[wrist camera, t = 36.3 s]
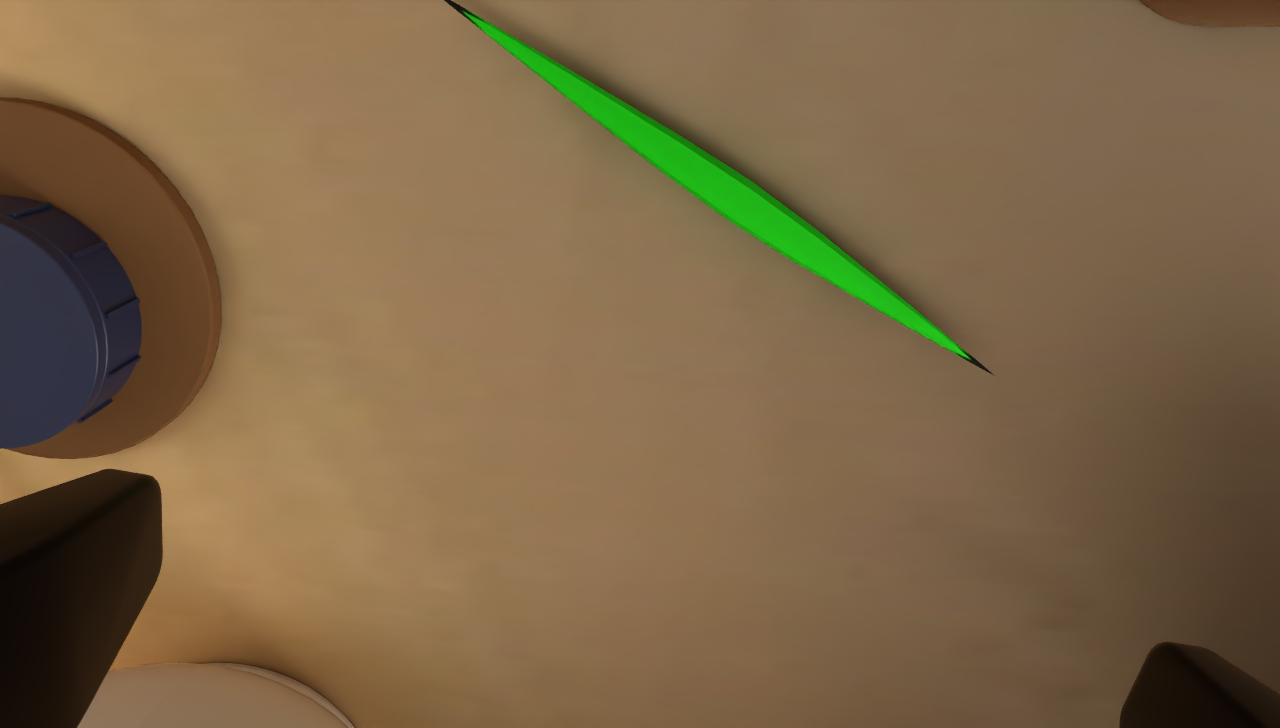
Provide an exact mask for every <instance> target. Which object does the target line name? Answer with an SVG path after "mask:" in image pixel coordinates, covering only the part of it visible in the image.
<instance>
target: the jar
mask: <svg viewBox="0 0 1280 728" xmlns="http://www.w3.org/2000/svg"><path fill="white" fill-rule="evenodd" d="M1140 1H1141V2H1142V3H1143V4H1144V5H1146V6H1147V7H1148V8H1150V9H1151V10H1152V11H1154V12H1156V13H1158V14H1160V15H1161V16H1163V17H1165V18H1167V19H1170V20H1173V21H1176V22H1179V23H1183V24H1188V25H1194V26H1211V27H1280V0H1140Z"/></svg>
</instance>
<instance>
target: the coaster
mask: <svg viewBox="0 0 1280 728" xmlns="http://www.w3.org/2000/svg"><path fill="white" fill-rule="evenodd" d="M0 195H9V196H19V197H23V198H28V199H32V200H36V201H39V202H42V203H43V202H47V201H48V202H50V203H52V206H53V207H55V208H57V209H59V210H61V211H63V212H65V213H67V214H68V215H70V216H72V217H73V218H75V219H76V220H78V221H80V222H81V223H82V224H84V225H85V226H86V227H87V228H89V229H90V230H91V231H92V232H94V233H95V234H96V235H97V236H98V237H99V238H100V239H101V240H102V241H106V242H107V244H108V245H107V246H108V248H109V249H110V250H111V251H112V252H113V254H114V255H115V256H116V257H117V259H118V261H119V262H120V264H121V265H122V267H123V268H124V270H125V272H126V274H127V276H128V278H129V280H130V282H131V284H132V286H133V289H134V291H135V294H136V297H137V298H139V300H140V303H138V304H139V309H140V313H141V323H142V337H141V346H140V351H139V356H141V360H140V361H139V362H137V363H136V365H135V367H134V370H133V372H132V373H131V375H130V377H129V379H128V380H127V382H126V383H125V384H124V386H123V387H122V388H121V389H120V391H119V392H117V393H116V394H115V395H114V396H113V397H112V398H111V399H112V400H113V402H112V403H111V404H109V405H108V406H106V407H105V408H103V409H102V410H100V411H99V412H97V413H96V414H94V415H93V416H91V417H90V418H88V419H87V420H85V421H84V422H82V423H81V424H79V423H78V422H75V423H74V424H72V425H71V426H69V427H68V428H66V429H65V430H63V431H62V432H60V433H59V434H57V435H56V436H54V437H52V438H49V439H47V440H45V441H43V442H40V443H37V444H33V445H30V446H25V447H18V448H4V449H8V450H11V451H15V452H19V453H22V454H26V455H32V456H39V457H45V458H60V459H77V458H89V457H97V456H101V455H106V454H110V453H115V452H118V451H121V450H123V449H126V448H129V447H131V446H134V445H136V444H138V443H140V442H142V441H144V440H145V439H147V438H149V437H151V436H153V435H154V434H155V433H157V432H158V431H159V430H161V429H162V428H163V427H165V426H166V425H167V424H169V423H170V422H171V421H172V420H174V419H175V418H176V417H177V416H178V415H179V414H180V413H181V412H182V411H183V410H184V409H185V408H186V407H187V406H188V405H189V404H190V403H191V402H192V400H193V399H194V397H195V396H196V394H197V393H198V392H199V390H200V389H201V387H202V386H203V384H204V382H205V380H206V378H207V376H208V373H209V371H210V369H211V367H212V364H213V361H214V358H215V354H216V351H217V348H218V342H219V335H220V329H221V296H220V288H219V280H218V276H217V272H216V268H215V264H214V261H213V257H212V254H211V251H210V249H209V246H208V244H207V241H206V239H205V236H204V234H203V232H202V230H201V228H200V226H199V224H198V222H197V220H196V219H195V217H194V215H193V213H192V211H191V210H190V208H189V207H188V205H187V204H186V202H185V201H184V199H183V198H182V197H181V195H180V194H179V192H178V191H177V189H176V188H175V187H174V186H173V185H172V183H171V182H170V181H169V180H168V179H167V178H166V177H165V175H164V174H163V173H162V172H161V171H160V170H159V169H158V168H157V167H156V166H155V165H154V164H153V163H152V162H151V161H150V160H149V159H148V158H146V157H145V156H144V155H143V154H142V153H141V152H140V151H139V150H138V149H136V148H135V147H133V146H132V145H131V144H129V143H128V142H127V141H125V140H124V139H123V138H121V137H120V136H118V135H117V134H115V133H114V132H112V131H110V130H109V129H107V128H105V127H103V126H102V125H100V124H98V123H96V122H95V121H93V120H91V119H88V118H86V117H84V116H81V115H79V114H77V113H74V112H72V111H70V110H67V109H64V108H60V107H57V106H54V105H50V104H47V103H43V102H38V101H32V100H26V99H20V98H0Z"/></svg>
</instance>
